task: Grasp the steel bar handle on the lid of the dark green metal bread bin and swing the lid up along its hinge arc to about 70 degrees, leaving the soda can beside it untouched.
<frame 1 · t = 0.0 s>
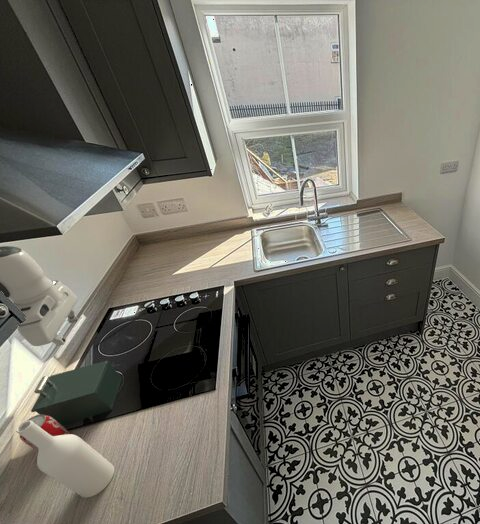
hand: (68, 332, 89), 27 cm above the countertop, tool pointing down, fingers open, 8 cm apart
soda can: (58, 444, 89), on the countertop
bottle: (97, 480, 81), on the countertop
bread bin: (91, 401, 100), on the countertop
bin lid: (68, 380, 93), point 12 cm above the countertop, hinge at 0.0°
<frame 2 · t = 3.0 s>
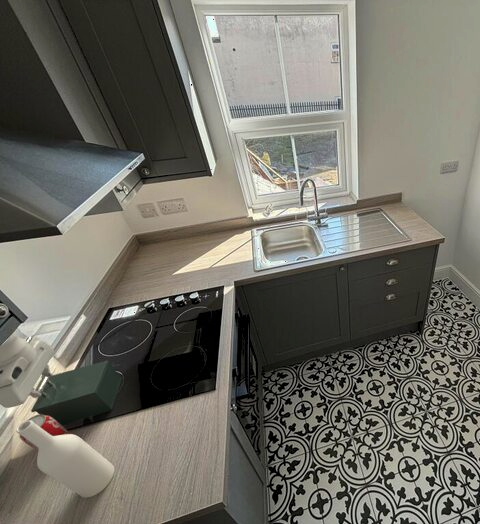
hand: (44, 386, 91), 13 cm above the countertop, tool pointing down, fingers closed on bin lid, 5 cm apart
bin lid: (68, 380, 93), point 12 cm above the countertop, hinge at 0.0°, touching gripper
everything else where it was.
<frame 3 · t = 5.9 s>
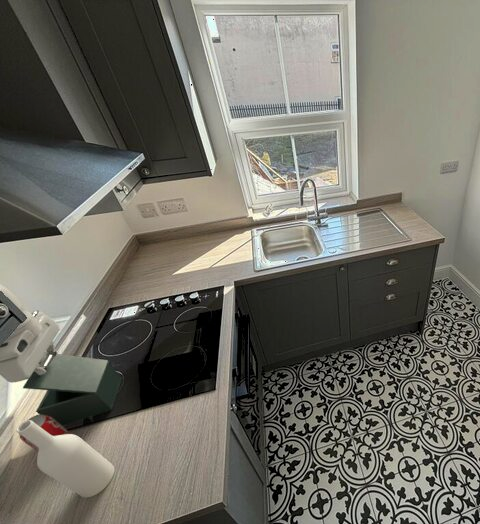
hand: (49, 363, 87), 21 cm above the countertop, tool pointing down, fingers closed on bin lid, 5 cm apart
bin lid: (71, 368, 91), point 17 cm above the countertop, hinge at 39.4°, touching gripper
everything else where it was.
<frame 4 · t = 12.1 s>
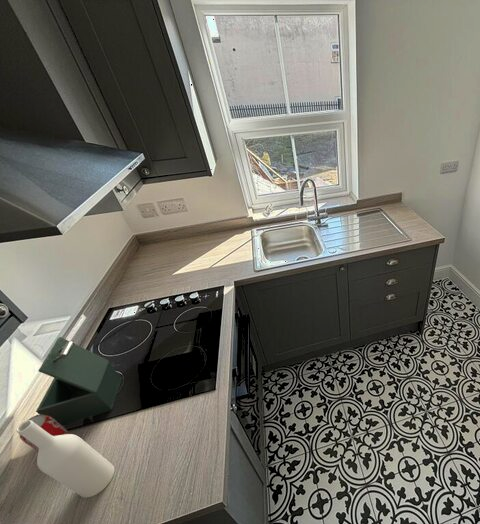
bin lid: (82, 361, 91), point 19 cm above the countertop, hinge at 66.9°
everything else where it was.
at the end: bin lid at +67° (first picture: +0°); soda can moved 0.2 cm from its start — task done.
